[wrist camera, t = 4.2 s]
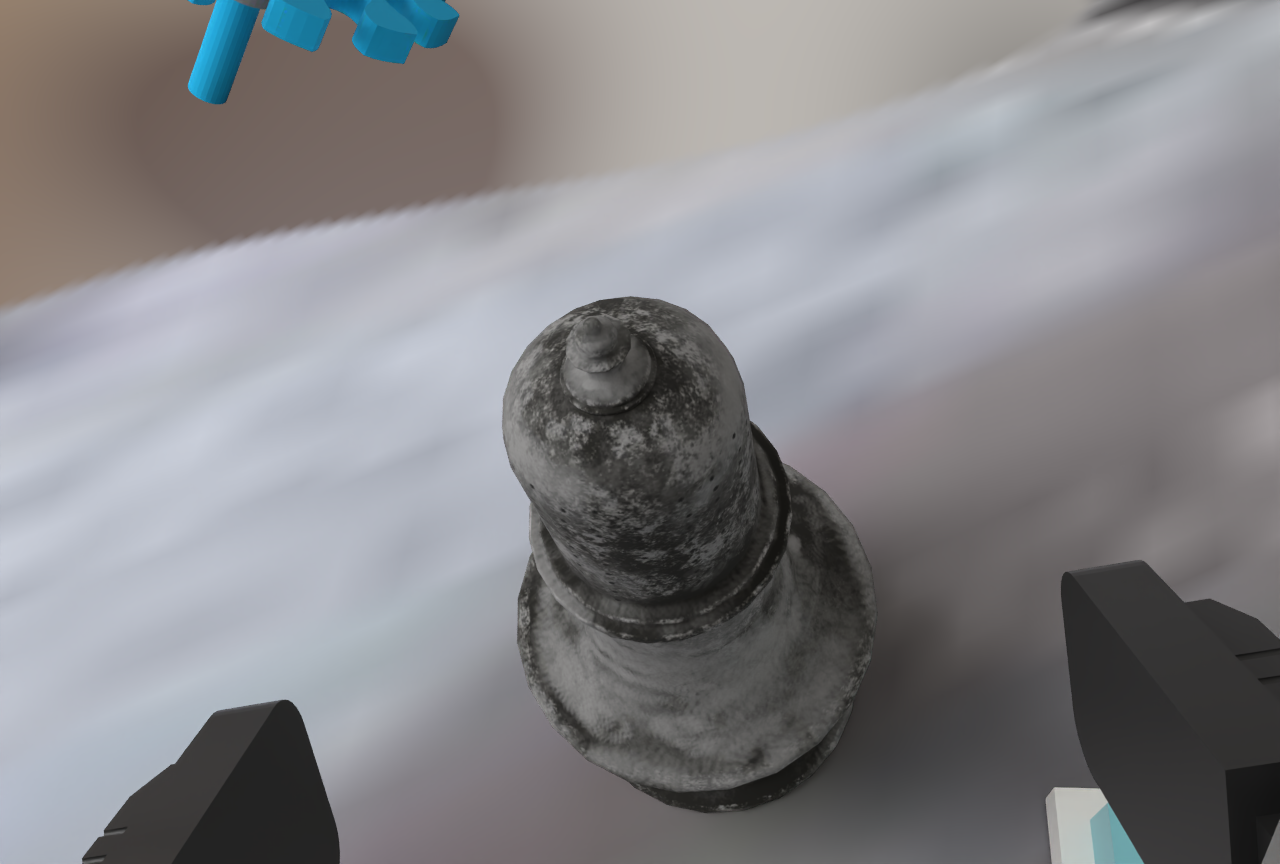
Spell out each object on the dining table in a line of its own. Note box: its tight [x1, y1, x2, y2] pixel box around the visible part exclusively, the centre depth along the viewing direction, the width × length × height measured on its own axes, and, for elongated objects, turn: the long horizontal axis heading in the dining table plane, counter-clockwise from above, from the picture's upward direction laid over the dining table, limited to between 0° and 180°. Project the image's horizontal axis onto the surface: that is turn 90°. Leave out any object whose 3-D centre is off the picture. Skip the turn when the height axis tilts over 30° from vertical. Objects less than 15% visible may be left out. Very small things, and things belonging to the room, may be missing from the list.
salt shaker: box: [502, 296, 877, 813], centre depth 17 cm, size 6×6×12 cm
